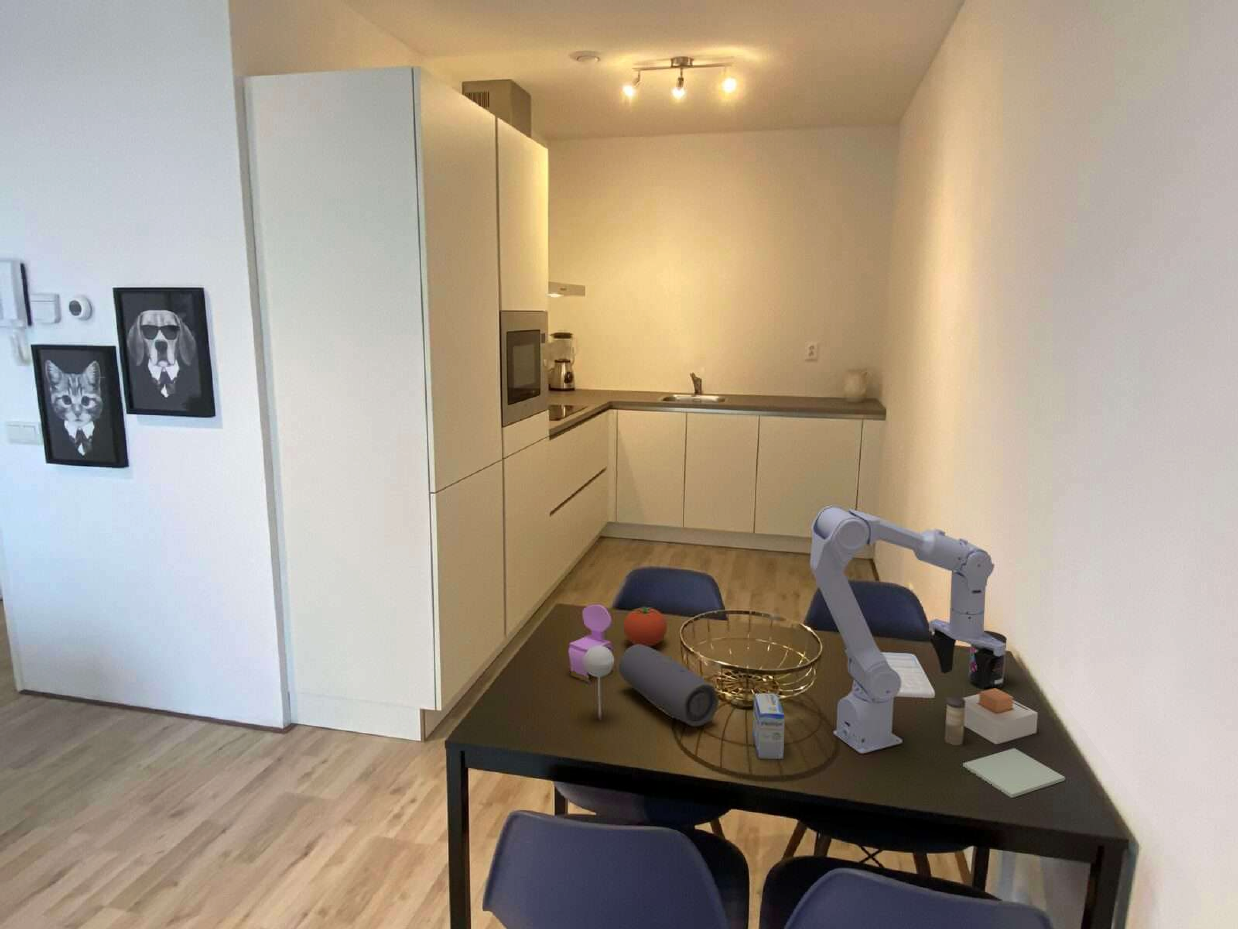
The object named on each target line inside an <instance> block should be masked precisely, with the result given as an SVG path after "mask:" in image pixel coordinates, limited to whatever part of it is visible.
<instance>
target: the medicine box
mask: <svg viewBox="0 0 1238 929" xmlns="http://www.w3.org/2000/svg"><path fill="white" fill-rule="evenodd" d="M752 737H753V741H754V745H755V749H756V752H757V757H758V758H759V759H768V760H769V759H770V760H772V759H774V760H779V759H780V760H781V759H784V749H785V745H784V744H785V742H784V740H785V713H784V711H783V708H782V705H781V702H780V699H779V696H778V693H754V695H753V715H752Z"/></svg>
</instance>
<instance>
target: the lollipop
mask: <svg viewBox="0 0 1238 929" xmlns="http://www.w3.org/2000/svg"><path fill="white" fill-rule="evenodd" d="M583 663H584V667H585V669H586V671H587V673H588V674H589V675H590V676H592V677H595V678H597V688H598V689H597V692H598V693H597V696H598V699H597V700H598V701H597V702H598V703H597V704H598V706H597V707H598V716H599V715H601V716H602V708H601V707H602V699H601V697H602V696H601V678H602V677H605V676H608V675H609V674H610V673H611V672H612V671H613V670H612V668H613V665H614V666H615V657H614V654H613V653H612V650H611V651H610V650H609V649H608V648H606V647H604V646H594V647H592V648H590V649H589V650H588V651H587V652H586V654H585V656H584V658H583Z"/></svg>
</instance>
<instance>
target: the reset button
mask: <svg viewBox="0 0 1238 929" xmlns="http://www.w3.org/2000/svg"><path fill="white" fill-rule="evenodd" d="M979 694H980V697H979V705H980V706H982V707H984V708H986V709H988V710H989V711H991V712H993V713H995V714H999V713H1003V712H1007V711H1010V710H1012V706H1013V700H1014V696H1012V695H1010V694H1008V693H1006V692H1004V691H1002V690H1000V689H999V688H998V689H996V688H994V689H985V690H983V691H982V690H981V691H979Z"/></svg>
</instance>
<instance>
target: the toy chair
mask: <svg viewBox="0 0 1238 929" xmlns="http://www.w3.org/2000/svg"><path fill="white" fill-rule="evenodd" d="M582 620H583V623H584V625H585V627H587V628H588V629H589V631H591V633H590V634H588V635H585V636H584V637H582V638H580V639H577V640H574V641H571V642H570V643H568V644H569V648H568V657H569V662H570V663H569V664H570V669H569V670H571V671H575V672H576V673H578V674H582V675H584V676H586V677H587V678H590V676H589V675H588V674H589V673H588V672H587V671H586V669H585V667H584V663H583V658H584V656H585V654H586V652H587V651H588V650H589V649H590V648H592V647H594V646H604V647H606V648H608V649H609V650H610V651H611V652H612V650H613V646H612V644H611V641H610V640H606V639H605V631H606V630H608V629H609V628H610V627H611V625H612V617H611V615H610V613H609V612H608V610H607V608H606V607H604V606H603V605H600V604H591V605H588V606H586V607H584V608H583V610H582ZM613 666H614V667H615V664H614V665H613Z"/></svg>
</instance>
